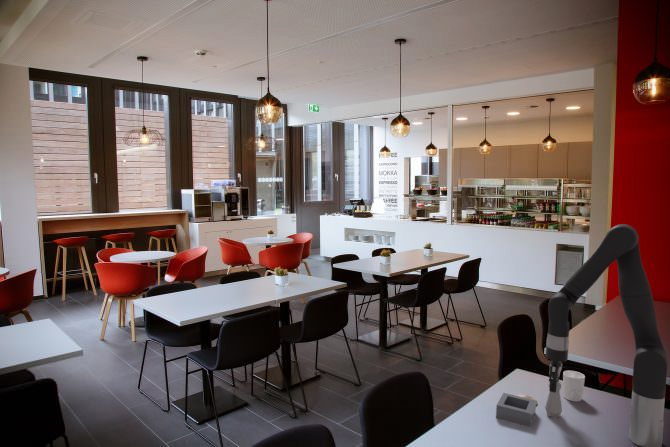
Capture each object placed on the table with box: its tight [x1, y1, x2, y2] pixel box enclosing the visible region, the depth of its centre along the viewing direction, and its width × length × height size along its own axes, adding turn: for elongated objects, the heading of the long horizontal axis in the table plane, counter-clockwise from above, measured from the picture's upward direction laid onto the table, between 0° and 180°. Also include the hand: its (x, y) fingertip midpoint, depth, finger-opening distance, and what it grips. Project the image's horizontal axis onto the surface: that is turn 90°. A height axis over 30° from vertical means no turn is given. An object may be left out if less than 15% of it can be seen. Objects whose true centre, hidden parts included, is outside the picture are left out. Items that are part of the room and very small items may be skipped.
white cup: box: [562, 370, 586, 403], centre depth 193 cm, size 8×8×10 cm
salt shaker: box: [544, 381, 563, 419], centre depth 179 cm, size 6×6×13 cm
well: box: [495, 392, 537, 427], centre depth 178 cm, size 12×12×5 cm
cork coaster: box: [515, 394, 538, 406], centre depth 190 cm, size 9×9×1 cm
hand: (554, 387), depth 178 cm, fingers open, 8 cm apart
